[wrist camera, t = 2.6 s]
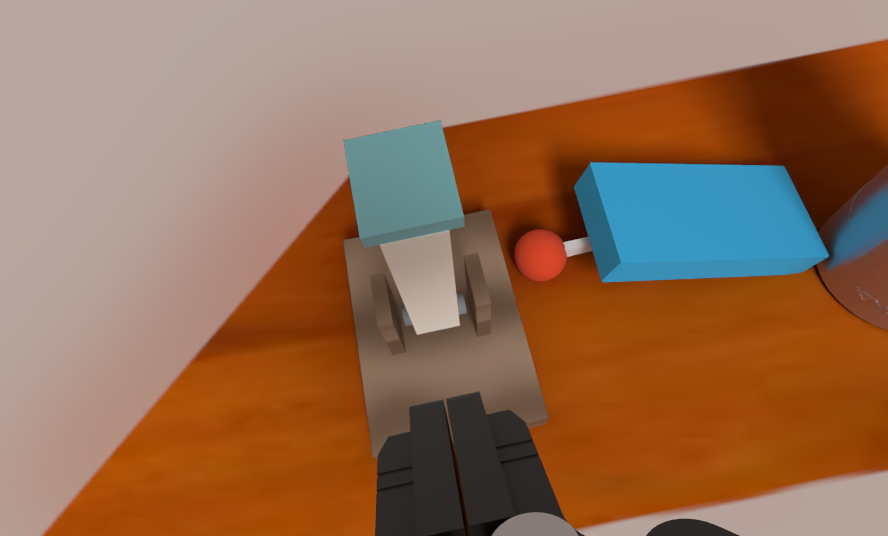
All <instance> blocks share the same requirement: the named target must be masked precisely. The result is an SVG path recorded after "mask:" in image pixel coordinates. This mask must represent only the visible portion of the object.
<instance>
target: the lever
mask: <svg viewBox="0 0 888 536" xmlns="http://www.w3.org/2000/svg"><path fill="white" fill-rule="evenodd" d="M574 189H575V192H576V196H577V199H578V202H579V206H580V209H581V213H582V216H583V220H584V223H585V226H586V230H587V233H588V237H584V238H580V239H576V240H571V241H567V242H563V241H562V239H561V238H560V237H559V236H558V235H557V234H555V233H554V232H552V231H549V230H544V229H537V230H533V231H530V232H527V233H526V234H525V235H523V236H522V237H521V238H520V239H519V241H518V242H517V244H516V247H515V250H514V261H515V264H516V266H517V268H518V270H519V271H520V272H521V273H522V275H523V276H525V277H526V278H528V279H530V280H534V281H547V280H550V279H552V278H554V277H556V276H557V275H558V274H560V272H561V271H562V270H563V268H564V266H565V263H566V259H567V257H568V256H573V255H577V254H582V253H586V252H591V251H593V254H594V257H595V261H596V264H597V268H598V271H599V274H600V278H601V281H602V282H621V281H645V280H669V279H693V278H718V277H742V276H766V275H787V274H793V273H799V272H804V271H805V270H807V269H809V268H811V267H812V266H814V265H816V264H817V263H819V262H821V261H822V260H824V259H826V258H828V257H829V254H828V252H827V250H826V248H825V246H824V244H823V242H822V240H821V238H820V236H819V234H818V232H817V230H816V228H815V226H814V224H813V222H812V220H811V218H810V216H809V214H808V212H807V210H806V208H805V206H804V204H803V202H802V200H801V198H800V196H799V194H798V192H797V190H796V188H795V186H794V184H793V182H792V180H791V178H790V176H789V174H788V172H787V170H786V168H785V167H784V166H769V165H712V164H654V163H597V162H591V163H590V164H589V166H588V167H587V169H586V170H585V171H584V173H583V174H582V176H581V177H580V179H579V180H578V181H577V183H576V184H575V186H574Z"/></svg>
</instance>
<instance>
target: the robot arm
mask: <svg viewBox="0 0 888 536" xmlns="http://www.w3.org/2000/svg"><path fill="white" fill-rule="evenodd" d="M818 234H819V236H820V238H821V240H822V242H823V244H824V246H825V248H826V250H827V252H828V254H829V257H828V258H826V259H824V260H822V261H821V262H819V263H817V264H816V265H817V268H818V271H819V273H820V276H821V278H822V280H823V281H824V283H825V285H826V286H827V288H828V290H829V291H830V292H831V293H832V294H833V295H834V297H835V298H836V299H837V300H838V301H839V302H840V303H841V304H842V305H843V306H844V307H846V308H847V309H848V310H849V311H851V312H852V313H853V314H854V315H856V316H858V317H860V318H861V319H863V320H865V321H867V322H868V323H870V324H872V325H875V326H878V327H880V328H883V329H885V330H888V165H887V166H885V167H884V168H883V169H882V170H881V171H880V172H879V173H878V174H877V175H876V176H875V177H873V178H872V179H871V180H870V181H869V182H868V183H867V184H866V185H864V186H863V187H862V188H861V189H860V190H859V191H858V192H857V193H856V194H855V195H854V196H852V197H851V198H850V199H849V200H848V201H847V202H846V203H845V204H844V205H843V206H842V207H841V208H839V209H838V210H837V211H836V212H835V213H834V214H833V215H832V216H831V217H830V218H829V219H828V220H827V221H826V222H825V223H824V225H823V226H822V227H821V229H820V231H819V233H818ZM446 402H447V408H448V414H449V419H450V425H451V431H452V436H453V441H452V436H451V432H450V427H449V423H448V418H447V414H446V409H445V405H444V401H443V399H441V400H437V401H432V402H428V403H423V404H419V405H414V406H409V417H410V432H406V433H401V434H397V435H392V436H388V438H387V440H386V442H385V443H384V445H383V447H382V449H381V450H380V452H379V454H378V466H377V475H378V478H377V497H376V528H375V536H584V535H582V534H581V533H579V532H578V531H576V530H575V529H574V528H573V527H572V526H571V525H570V524H569V523H568V522H567V521H566V519H565V518H564V516H563V514H562V512H561V509H560V507H559V504H558V502H557V499H556V497H555V494H554V492H553V489H552V487H551V484H550V482H549V479H548V477H547V474H546V472H545V469H544V467H543V464H542V462H541V459H540V457H539V455H538V452H537V449H536V447H535V444H534V443H533V440H532V437H531V434H530V432H529V429H528V427H527V424H526V422H525V421H524V420H522V419H521V418H520V417H519V416H517V415H516V414H515V413H514V412H512V411H511V410H510V409H509V410H505V411H500V412H496V413H491V414H487V415H486V412H485V408H484V405H483V402H482V398H481V395H480V392H479V391H477V392H473V393H468V394H464V395H459V396H454V397H450V398H446ZM453 442H454V445H453ZM454 447H455V450H454ZM455 453H456V454H455ZM647 536H739V535H736V534H734V533H732V532H730V531H728V530H725V529H723V528H721V527H719V526H716V525H714V524H711V523H708V522H704V521H701V520H695V519H676V520H670V521H666V522H664V523H661V524H659V525H658V526H656V527H654V528H653V529H652V530H651V531H650V532H649V533H648V534H647Z"/></svg>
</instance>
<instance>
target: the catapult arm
mask: <svg viewBox="0 0 888 536" xmlns="http://www.w3.org/2000/svg"><path fill="white" fill-rule="evenodd" d="M344 146H345V152H346V158H347V164H348V170H349V177H350V183H351V189H352V195H353V201H354V207H355V213H356V219H357V225H358V231H359V237H360V240H361V242H362V244H363V246H364V248H366V247H371V246H376V245H380V247H381V250H382V252H383V255H384V257H385V259H386V262H387V264H388V267H389V269H390V271H391V274H392V276H393V279H394V281H395V283H396V286H397V288H398V290H399V293H400V295H401V298H402V300H403V302H404V306H401V308H402V314H403V319H404V323H405V326H410V325H413V326H414V329H415V331H416V334H417V335H419V334H423V333H428V332H432V331H437V330H442V329H446V328H451V327H456V326H460V322H459V315H461V314H466V313H467V310H466V305H465V301H464V296H463V293H460V294H456V285H455V276H454V267H453V258H452V249H451V239H450V231H449V230H451V229H456V228H461V227H465V225H464V214H463V210H462V206H461V202H460V198H459V194H458V190H457V186H456V182H455V177H454V173H453V169H452V165H451V161H450V157H449V153H448V149H447V145H446V141H445V137H444V133H443V128H442V124H441V121H440V120H439V121H434V122H429V123H424V124H420V125H415V126H410V127H405V128H401V129H396V130H391V131H386V132H381V133H376V134H372V135H366V136H362V137H357V138H352V139H347V140H344Z"/></svg>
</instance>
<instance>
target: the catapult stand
mask: <svg viewBox="0 0 888 536" xmlns="http://www.w3.org/2000/svg"><path fill="white" fill-rule="evenodd" d="M464 225H465V227H461V228H456V229H451V230H449V231H450V239H451V249H452V258H453V267H454V276H455V285H456V294H460V293H463V296H464V301H465V305H466V310H467V313H466V314H461V315H459V322H460V326H456V327H451V328H446V329H442V330H437V331H432V332H428V333H423V334H419V335H417V334H416V331H415V329H414V326H413V325H410V326H405V323H404V319H403V314H402V308H401V306H404V302H403V300H402V298H401V295H400V293H399V290H398V288H397V286H396V283H395V281H394V279H393V276H392V274H391V271H390V269H389V267H388V264H387V262H386V259H385V257H384V255H383V252H382V250H381V247H380V245H376V246H371V247H366V248H364V246H363V244H362V242H361V240H360V237H357V238H352V239H347V240H343V243H344V250H345V257H346V264H347V272H348V279H349V286H350V294H351V301H352V308H353V315H354V323H355V330H356V337H357V345H358V352H359V359H360V366H361V374H362V381H363V388H364V396H365V403H366V410H367V417H368V425H369V432H370V439H371V447H372V454H373V457H374V458H375V459H377V460H378V454H379V452H380V450H381V449H382V447H383V445H384V443H385V442H386V440H387V438H388V436H392V435H397V434H401V433H406V432H410V417H409V406H414V405H419V404H423V403H428V402H432V401H437V400H441V399H443V401H444V405H445V409H446V414H447V418H448V423H449V427H450V432H451V436H452V431H451V425H450V419H449V414H448V408H447V402H446V398H450V397H454V396H459V395H464V394H468V393H473V392H477V391H479V392H480V395H481V398H482V402H483V405H484V408H485V412H486V415H487V414H491V413H496V412H500V411H505V410H509V409H510V410H511V411H512V412H514V413H515V414H516V415H517V416H519V417H520V418H521V419H522V420H524V421H525V422H526V424H527V427H528V428H532V427H536V426H541V425H545V424H546V422H547V421H548V419H549V417H548V414H547V410H546V406H545V403H544V399H543V396H542V392H541V389H540V385H539V382H538V378H537V374H536V371H535V367H534V364H533V360H532V357H531V353H530V349H529V346H528V342H527V339H526V335H525V332H524V328H523V324H522V321H521V317H520V314H519V310H518V307H517V303H516V299H515V296H514V292H513V289H512V285H511V282H510V278H509V274H508V271H507V267H506V264H505V260H504V257H503V253H502V250H501V246H500V242H499V239H498V235H497V232H496V228H495V225H494V221H493V217H492V214H491V210H490V209H489V210H484V211H480V212H475V213H470V214H465V215H464ZM452 441H453V436H452ZM453 445H454V442H453Z"/></svg>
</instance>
